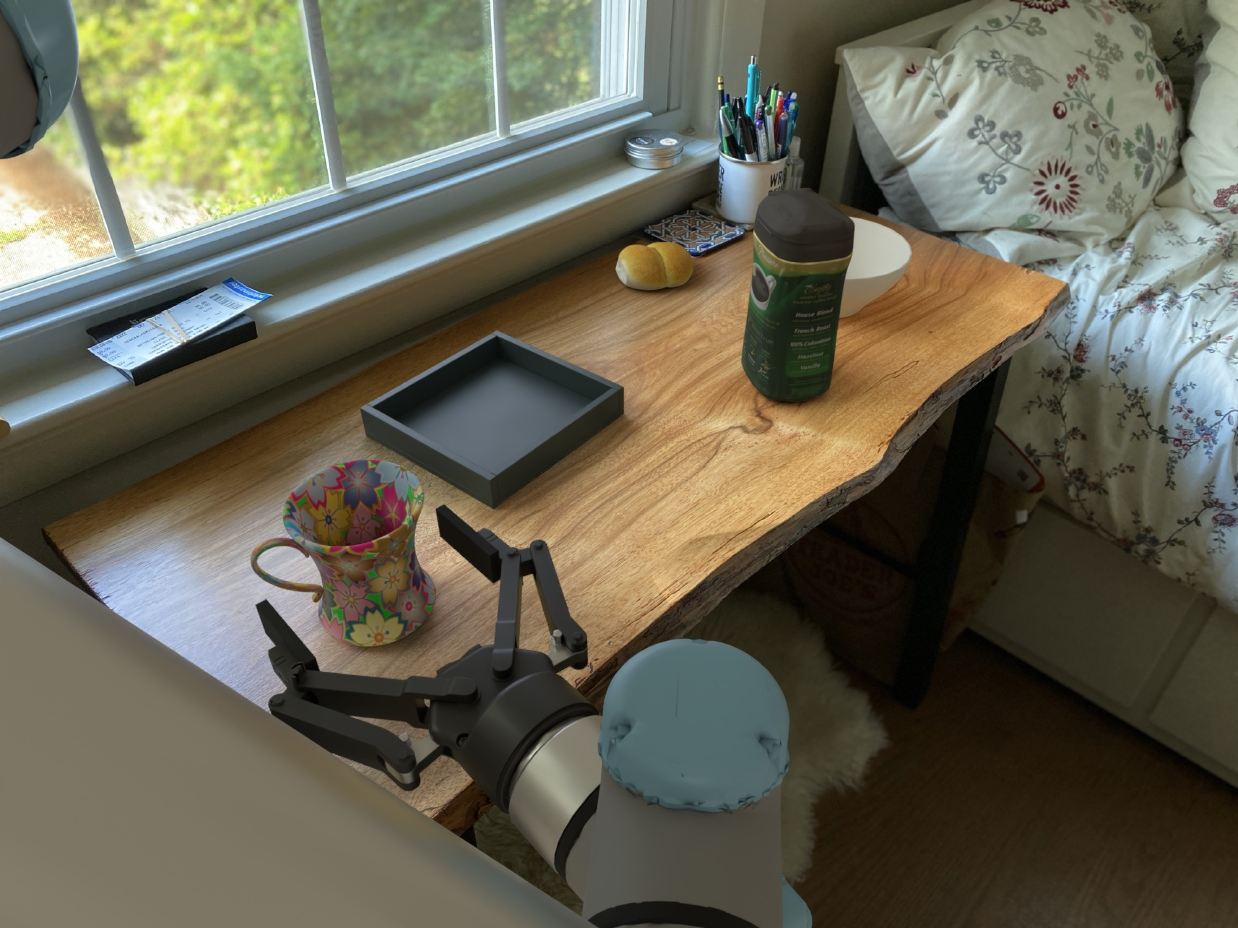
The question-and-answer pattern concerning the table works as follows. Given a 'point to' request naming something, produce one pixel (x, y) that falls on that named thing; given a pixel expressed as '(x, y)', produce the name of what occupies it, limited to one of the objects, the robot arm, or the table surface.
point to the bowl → (873, 265)
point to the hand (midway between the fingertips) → (358, 565)
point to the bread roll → (654, 266)
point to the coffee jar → (795, 294)
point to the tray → (493, 416)
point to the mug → (359, 550)
